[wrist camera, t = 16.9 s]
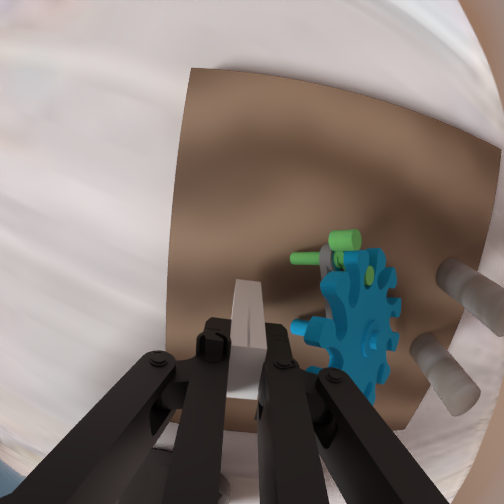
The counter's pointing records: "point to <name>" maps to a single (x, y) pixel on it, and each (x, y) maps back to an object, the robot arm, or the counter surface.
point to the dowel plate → (329, 223)
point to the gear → (352, 309)
